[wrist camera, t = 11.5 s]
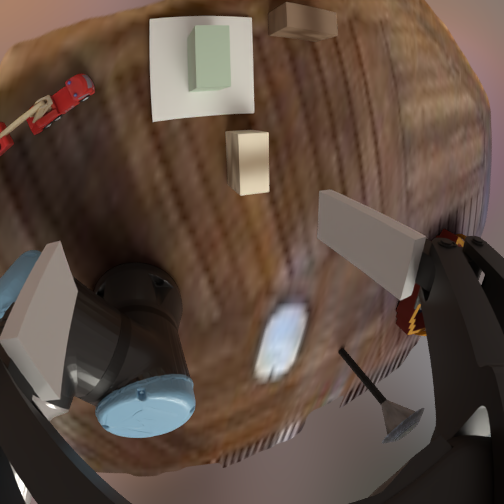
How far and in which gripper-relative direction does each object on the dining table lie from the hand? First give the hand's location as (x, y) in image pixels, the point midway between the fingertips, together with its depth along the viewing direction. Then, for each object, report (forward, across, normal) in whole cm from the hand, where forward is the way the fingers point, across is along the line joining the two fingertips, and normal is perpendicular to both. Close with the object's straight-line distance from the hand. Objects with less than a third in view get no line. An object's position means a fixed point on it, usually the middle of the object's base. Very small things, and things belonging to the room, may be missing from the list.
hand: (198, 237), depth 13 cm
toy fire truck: (+28, +14, -10) cm, 33 cm away
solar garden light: (+28, -37, +53) cm, 70 cm away
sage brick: (+27, -7, -13) cm, 31 cm away
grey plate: (+28, -7, -13) cm, 31 cm away
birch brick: (+28, -12, +1) cm, 30 cm away
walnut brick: (+28, -21, -20) cm, 40 cm away
